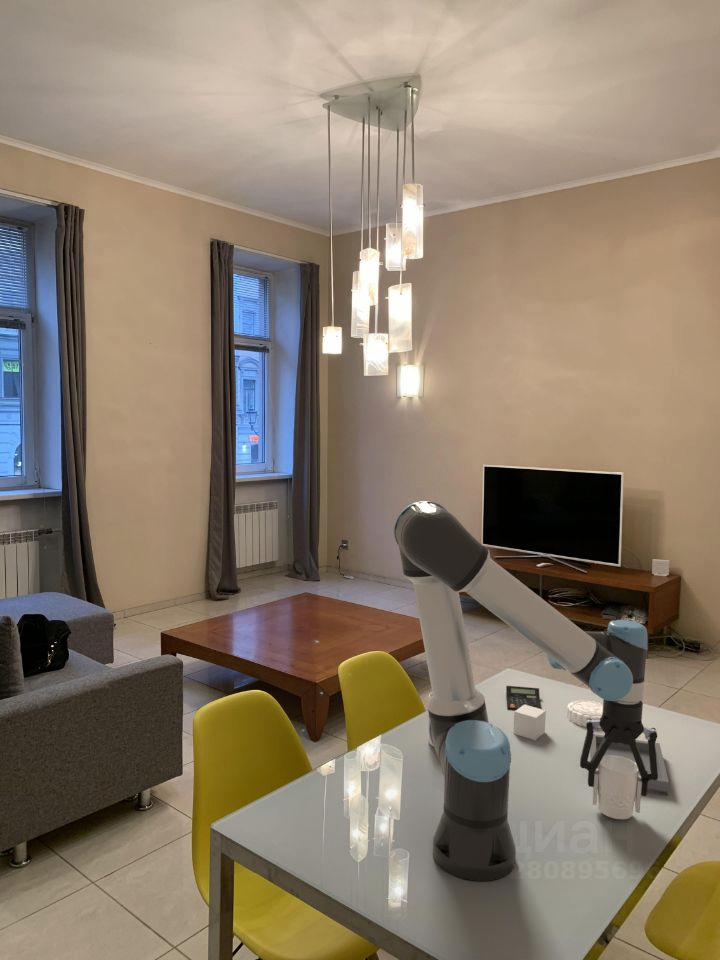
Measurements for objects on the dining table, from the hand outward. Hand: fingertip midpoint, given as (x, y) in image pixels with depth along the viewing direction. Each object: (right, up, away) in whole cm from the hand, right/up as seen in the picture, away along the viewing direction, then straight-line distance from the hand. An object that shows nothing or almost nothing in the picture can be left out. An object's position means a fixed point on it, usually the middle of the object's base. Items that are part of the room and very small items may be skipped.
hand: (615, 805), depth 149 cm
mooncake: (+10, +1, +48) cm, 49 cm away
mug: (-31, +1, +32) cm, 44 cm away
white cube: (-9, +1, +38) cm, 39 cm away
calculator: (-6, +3, +58) cm, 59 cm away
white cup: (0, -1, 0) cm, 1 cm away
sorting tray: (+10, 0, +20) cm, 22 cm away
